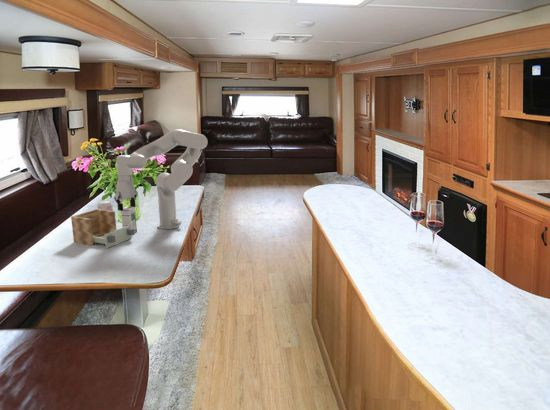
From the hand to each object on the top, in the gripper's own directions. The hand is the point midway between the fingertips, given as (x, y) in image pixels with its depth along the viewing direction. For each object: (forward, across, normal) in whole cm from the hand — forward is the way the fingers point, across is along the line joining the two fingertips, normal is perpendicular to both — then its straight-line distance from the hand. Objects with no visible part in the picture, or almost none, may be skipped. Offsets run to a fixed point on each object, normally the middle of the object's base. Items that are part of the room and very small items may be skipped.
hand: (126, 208), depth 280 cm
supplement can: (+14, -4, -20) cm, 25 cm away
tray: (+14, +16, +4) cm, 22 cm away
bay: (+14, +16, -8) cm, 23 cm away
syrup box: (+14, -1, 0) cm, 14 cm away
